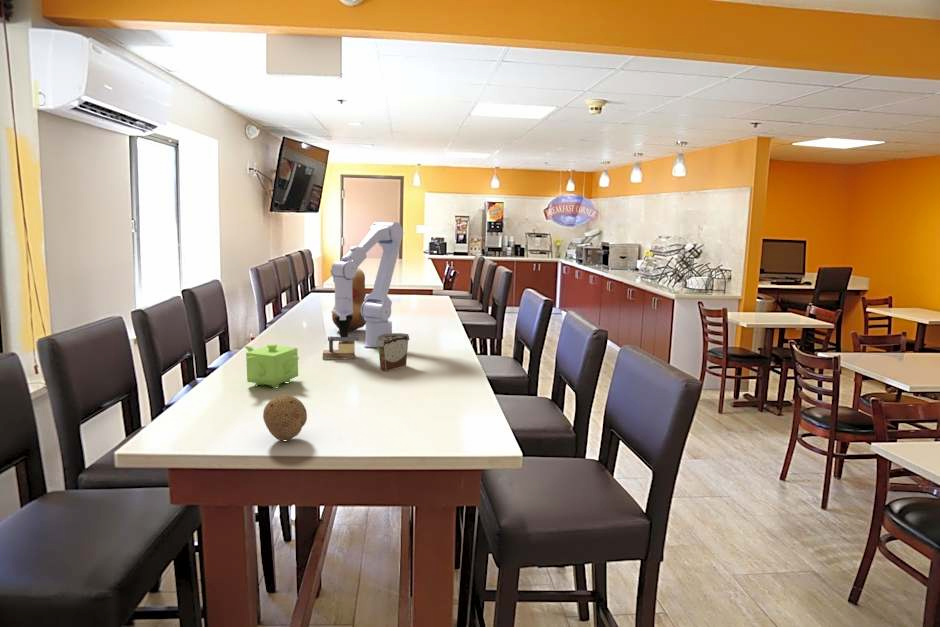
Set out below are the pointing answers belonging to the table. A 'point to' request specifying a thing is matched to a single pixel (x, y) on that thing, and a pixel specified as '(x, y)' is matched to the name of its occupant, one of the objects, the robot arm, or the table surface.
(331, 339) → the lever
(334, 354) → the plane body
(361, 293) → the butternut squash
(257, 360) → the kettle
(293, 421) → the natural sponge
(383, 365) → the food container
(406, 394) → the table surface
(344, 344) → the tan wooden block
